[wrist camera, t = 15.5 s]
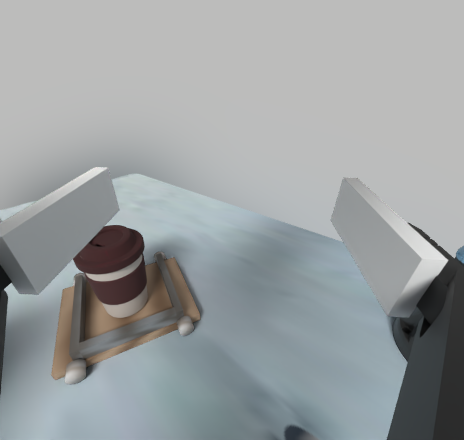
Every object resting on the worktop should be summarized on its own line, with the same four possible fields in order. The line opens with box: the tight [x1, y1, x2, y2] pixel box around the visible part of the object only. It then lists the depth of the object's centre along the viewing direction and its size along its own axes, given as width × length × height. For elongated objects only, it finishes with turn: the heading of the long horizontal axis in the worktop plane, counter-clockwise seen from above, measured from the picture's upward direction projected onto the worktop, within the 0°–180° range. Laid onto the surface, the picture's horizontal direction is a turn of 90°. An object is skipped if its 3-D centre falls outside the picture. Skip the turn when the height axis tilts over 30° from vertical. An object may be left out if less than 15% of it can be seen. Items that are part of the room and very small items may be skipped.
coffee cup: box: [73, 225, 148, 318], centre depth 39 cm, size 10×10×15 cm
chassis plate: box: [51, 252, 200, 385], centre depth 43 cm, size 22×21×4 cm
